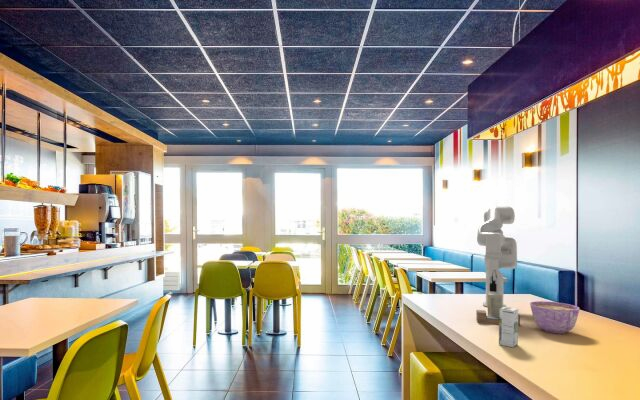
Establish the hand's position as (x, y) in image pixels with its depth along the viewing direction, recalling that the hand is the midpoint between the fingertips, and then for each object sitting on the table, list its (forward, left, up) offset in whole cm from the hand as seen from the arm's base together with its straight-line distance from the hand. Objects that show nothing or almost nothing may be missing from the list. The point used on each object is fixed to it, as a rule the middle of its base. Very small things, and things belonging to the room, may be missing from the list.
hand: (492, 291), depth 228 cm
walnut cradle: (+17, 0, -13) cm, 21 cm away
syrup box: (+56, -1, -13) cm, 58 cm away
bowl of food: (+25, +23, -13) cm, 37 cm away
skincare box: (+6, 0, -13) cm, 14 cm away
